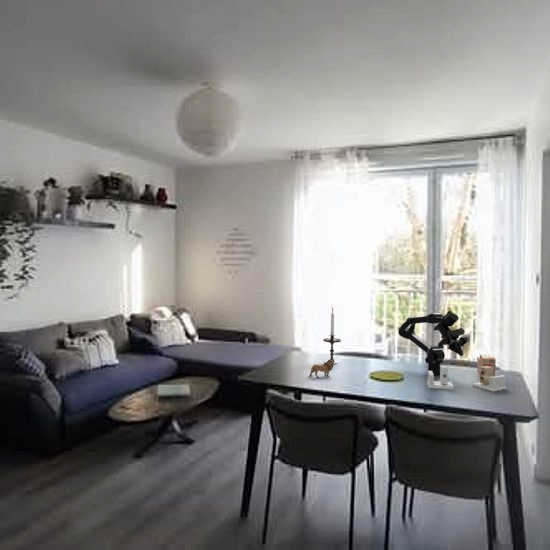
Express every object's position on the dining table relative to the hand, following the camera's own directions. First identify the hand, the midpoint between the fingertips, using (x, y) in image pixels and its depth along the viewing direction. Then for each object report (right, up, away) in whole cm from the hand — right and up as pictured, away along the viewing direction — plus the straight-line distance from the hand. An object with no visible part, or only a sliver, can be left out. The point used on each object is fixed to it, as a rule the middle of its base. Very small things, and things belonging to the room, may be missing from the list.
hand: (462, 355), depth 254 cm
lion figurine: (-74, -12, +5) cm, 75 cm away
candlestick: (-64, -12, +44) cm, 79 cm away
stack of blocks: (+17, -14, +11) cm, 25 cm away
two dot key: (+7, -12, -13) cm, 19 cm away
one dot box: (-16, -13, -13) cm, 25 cm away
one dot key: (-14, -11, -13) cm, 23 cm away
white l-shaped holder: (+8, -14, -14) cm, 21 cm away
